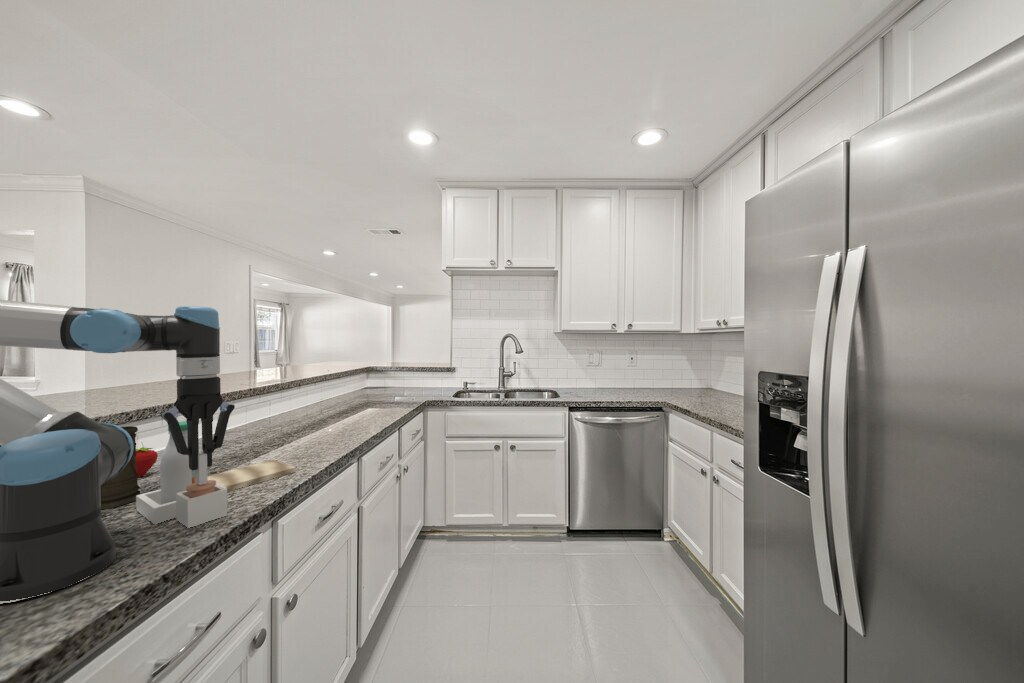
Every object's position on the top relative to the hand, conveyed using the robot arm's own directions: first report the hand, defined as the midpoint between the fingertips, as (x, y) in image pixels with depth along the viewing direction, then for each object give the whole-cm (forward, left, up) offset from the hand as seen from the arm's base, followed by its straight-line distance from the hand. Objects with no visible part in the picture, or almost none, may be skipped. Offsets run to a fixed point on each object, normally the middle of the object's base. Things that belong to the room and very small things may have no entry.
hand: (201, 482), depth 86 cm
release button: (0, 0, -6) cm, 6 cm away
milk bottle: (0, +12, -8) cm, 14 cm away
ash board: (+18, +20, -8) cm, 28 cm away
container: (-8, +30, -8) cm, 32 cm away
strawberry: (+1, +50, -8) cm, 51 cm away
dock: (0, +8, -8) cm, 11 cm away
